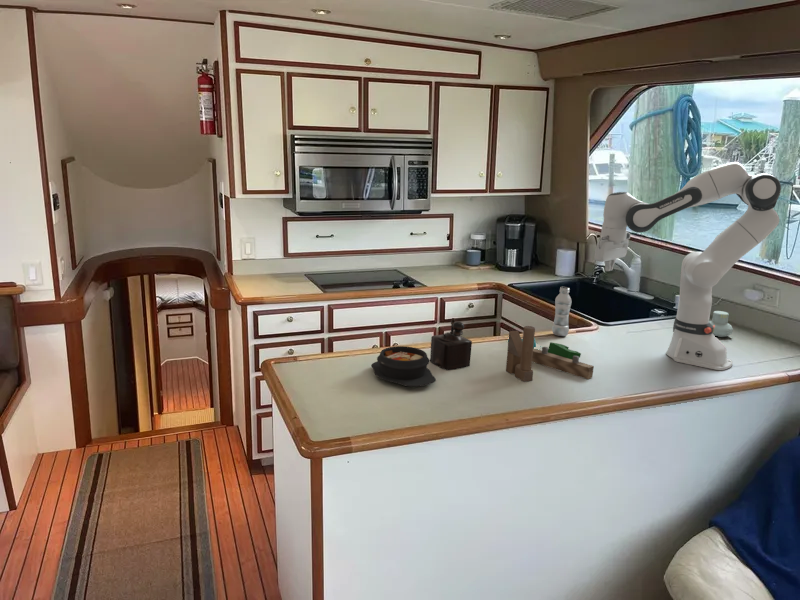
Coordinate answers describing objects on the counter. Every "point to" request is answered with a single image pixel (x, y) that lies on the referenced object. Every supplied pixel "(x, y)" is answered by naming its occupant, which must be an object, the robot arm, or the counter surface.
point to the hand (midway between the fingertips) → (608, 270)
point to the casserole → (403, 366)
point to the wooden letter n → (521, 354)
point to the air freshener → (721, 324)
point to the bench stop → (562, 363)
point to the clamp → (562, 351)
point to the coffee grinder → (451, 348)
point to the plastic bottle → (562, 312)
